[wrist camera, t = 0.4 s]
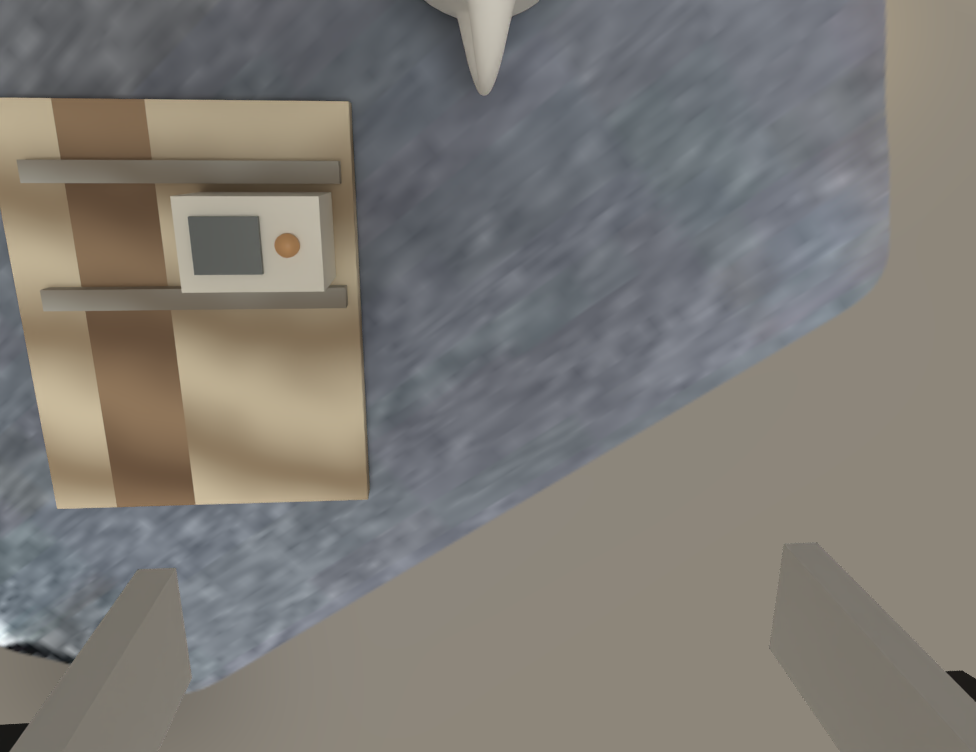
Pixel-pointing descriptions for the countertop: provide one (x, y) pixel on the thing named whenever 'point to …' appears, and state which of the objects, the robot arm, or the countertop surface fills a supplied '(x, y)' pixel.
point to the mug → (483, 33)
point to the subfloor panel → (181, 304)
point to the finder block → (254, 241)
